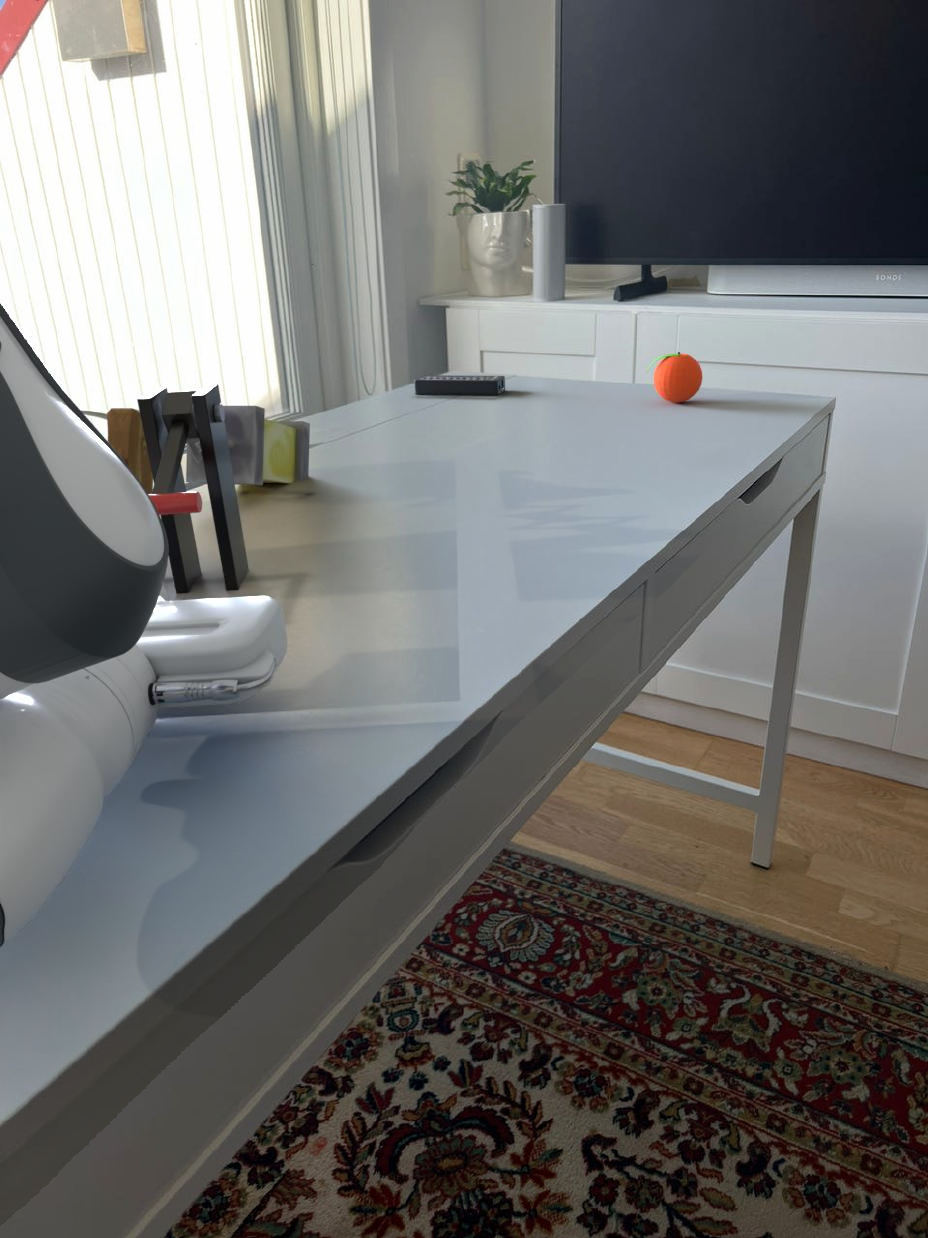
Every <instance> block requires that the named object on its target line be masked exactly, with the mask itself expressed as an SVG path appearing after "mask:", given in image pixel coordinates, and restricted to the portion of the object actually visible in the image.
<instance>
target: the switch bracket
mask: <svg viewBox="0 0 928 1238" xmlns="http://www.w3.org/2000/svg"><path fill="white" fill-rule="evenodd" d="M168 392H169V391H168V388H167V387H164V386H163V387H154V388H153V389H151V390H149V391H148V392H146V393H145V394H143V395H142V396H139V397H138V398H137V399H136V402H137V405H138V410H139V411H140V416H141V421H142V426H143V431H144V436H145V441H146V446H147V451H148V456H149V461H150V466H151V471H152V476H153V485H154V484H155V480H156V476H157V473H158V469H159V465H160V462H161V458H162V454H163V451H164V447H165V443H166V440H167V436H168V432H167V429H166V427H165V424H164V421H163V418H162V415H161V414H162V410H163V407H164V403H165V400H166V396H167V393H168ZM192 401H193V407H194V413H195V418H196V424H197V430H198V435H199V441H200V446H201V452H202V458H203V463H204V469H205V475H206V480H207V484H206V486H207V491H208V496H209V502H210V509H211V513H212V519H213V525H214V530H215V535H216V536H215V537H216V542H217V547H218V553H219V558H220V564H221V569H222V575H223V581H224V586H225V592H231V591H239V590H240V588H241V586H242V585H243V583H244V581H245V579H246V578H247V575H248V573H249V571H250V569H249V562H248V556H247V550H246V544H245V538H244V532H243V526H242V520H241V514H240V508H239V502H238V496H237V495H238V494H237V490H236V489H237V488H236V485H235V483H234V477H233V471H232V464H231V458H230V452H229V446H228V440H227V434H226V428H225V422H224V420H225V412H224V408H223V406H224V405H223V403H222V398H221V391H220V385H219V384H216V383H215V384H205V385H204V386H202V388H200V389H199V390H197V391H196V393H195V394H194V395H192ZM182 492H187V488H186V481H185V476H184V472H183V467H182V463H181V464H180V468H179V472H178V476H177V480H176V484H175V488H174V492H173V493H182ZM160 518H161V520H162V522H163V525H164V528H165V531H166V535H167V539H168V545H169V555H168V561H169V564H170V569H171V574H172V580H173V585H174V589H175V594H176V595H178V594H181V595H182V594H183V595H184V594H189V593H190V592H191V590H192V589H193V587H194V586H195V584H196V583H197V582H198V580H199V579H200V577H201V575H202V568H201V562H200V558H199V557H200V556H199V552H198V547H197V540H196V536H195V530H194V526H193V520H192V513H184V514H167V515H160Z"/></svg>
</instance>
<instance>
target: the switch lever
mask: <svg viewBox="0 0 928 1238" xmlns="http://www.w3.org/2000/svg"><path fill="white" fill-rule="evenodd" d="M167 392H168V393H167V396H166V400H165V403H164V407H163V410H162V414H161V415H162V418H163V421H164V424H165V427H166V429H167V432H168V436H167V440H166V443H165V447H164V451H163V454H162V458H161V462H160V465H159V469H158V473H157V476H156V480H155V484H154V483H153V491H152V494H148V495H149V497H150V498H151V500H152V502H153V503H154V505H155V507H156V509H157V511H158V513H159V515H160V516H161V515H167V514H184V513H190V514H198V513H201V512H202V511H203V500H202V496H201V493H200V492H199V491H186V492H182V493H173V492H174V488H175V484H176V480H177V476H178V472H179V468H180V464H181V465H182V460H183V456H184V452H185V448H186V445H187V444H186V440H187V439H194V438H199V435H198V430H197V424H196V418H195V413H194V407H193V401H192V395H194V394H195V393H196V392H197V391H196V390H183V391H182V390H180V391H167Z"/></svg>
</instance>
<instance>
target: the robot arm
mask: <svg viewBox="0 0 928 1238" xmlns="http://www.w3.org/2000/svg"><path fill="white" fill-rule="evenodd" d="M168 561H169V545H168V539H167V535H166V531H165V528H164V525H163V522H162V520H161V515H159V513H158V511H157V509H156V507H155V505H154V503H153V502H152V500H151V498H150V497H149V495H148V493H147V492H146V490H145V489H144V487H143V486H142V484H141V483H140V481H139V480H138V479H137V477H136V476H135V474H134V473H133V472H132V470H131V469H130V468H129V467H128V465H127V464H126V463H125V461H124V460H123V459H122V458H121V457H120V455H119V454H118V453H117V452H116V451H115V449H114V448H113V447H112V446H111V445H110V444H109V442H108V439H107V438H105V437H104V435H103V434H102V433H101V432H100V430H98V428H97V427H96V425H94V424H93V423H92V421H91V420H90V419H89V418H88V417H87V416H86V415H85V414H84V412H83V411H82V410H81V409H80V408H79V407H78V406H77V405H76V403H75V402H74V401H73V400H72V399H71V398H70V396H69V395H68V394H67V392H66V391H65V390H64V388H63V387H62V386H61V385H60V383H59V382H58V381H57V379H56V378H55V377H54V375H53V374H52V372H51V371H50V370H49V368H48V366H46V364H45V362H44V361H43V359H41V357H40V355H39V354H38V353H37V351H36V350H35V348H34V347H33V346H32V344H31V343H30V341H29V340H28V338H27V337H26V335H25V334H24V332H23V331H22V330H21V328H20V327H19V326H18V324H17V322H16V321H15V320H14V318H13V316H12V315H11V314H10V313H9V311H8V309H7V308H6V306H5V305H4V304H3V302H2V301H1V300H0V949H1V948H2V947H4V946H5V945H7V944H8V943H9V942H10V941H12V940H13V939H14V938H15V937H16V936H17V935H18V934H20V933H21V932H22V931H23V929H25V928H26V927H27V926H28V925H29V924H30V922H31V921H33V919H34V918H35V917H36V916H37V915H38V914H39V912H40V911H41V910H42V909H43V907H44V906H45V905H46V903H48V901H49V900H50V898H51V897H52V896H53V895H54V893H55V892H56V891H57V890H58V888H59V887H60V885H61V884H62V882H63V880H64V879H65V878H66V876H67V875H68V873H69V872H70V871H71V869H72V868H73V866H74V865H75V863H76V862H77V860H78V858H79V856H80V855H81V853H82V851H83V850H84V848H85V846H86V845H87V843H88V841H89V840H90V838H91V836H92V835H93V832H94V831H95V829H96V827H97V826H98V823H99V820H100V818H101V815H102V811H103V807H104V802H105V799H106V798H107V797H108V796H110V794H111V793H112V792H114V791H115V789H116V788H117V787H118V785H120V783H121V782H122V781H123V779H124V777H125V776H126V774H127V772H128V771H129V768H130V767H131V765H132V763H133V762H134V760H135V758H136V756H137V754H138V753H139V751H140V749H141V747H142V746H143V744H144V743H145V741H146V739H147V737H148V735H149V733H150V732H151V730H152V728H153V726H154V724H155V722H156V720H157V717H158V713H159V710H160V709H169V708H170V709H172V708H187V707H189V708H190V707H206V706H223V705H224V706H225V705H231V704H236V703H240V702H244V701H246V700H249V699H251V698H252V697H254V696H256V695H257V694H259V693H260V692H261V691H262V690H263V689H264V688H266V687H267V686H268V685H270V683H271V682H272V679H273V678H274V675H275V673H276V672H277V671H278V669H279V667H280V665H281V664H282V663H283V660H284V658H285V657H286V654H287V651H288V634H287V625H286V619H285V613H284V610H283V606H282V603H281V602H279V601H278V600H277V599H275V598H273V597H272V596H269V595H250V596H249V595H248V596H247V595H245V596H231V597H230V596H229V597H212V598H211V597H210V598H196V599H195V598H193V599H175V600H173V599H172V600H169V598H168V597H169V596H168V592H167V588H166V587H165V586H164V582H165V581H164V580H165V577H166V573H167V568H168Z"/></svg>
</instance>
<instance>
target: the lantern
mask: <svg viewBox="0 0 928 1238" xmlns="http://www.w3.org/2000/svg"><path fill="white" fill-rule="evenodd" d="M223 408H224V412H225V420H224V422H225V428H226V434H227V440H228V446H229V452H230V458H231V464H232V471H233V477H234V483H235V486H236V485H240V486H244V485H245V486H263V485H264V484H292V483H294V482H302V481H304V480H305V479H306V478H308V477H309V472H310V471H309V470H310V469H309V467H310V439H311V438H310V436H311V434H310V433H311V423H310V422H307V421H303V420H270V419H266V418H265V415H266V414H265V413H266V408H264V407H261V406H258V405H223ZM106 421H107V422H106V423H107V425H106V426H107V441H108V442H109V444H110V445H111V446H112V447H113V448H114V449H115V451H116V452H117V453H118V454H119V455H120V457H121V458H122V459H123V460H124V461H125V463H126V464H127V465H128V467H129V468H130V469H131V470H132V472H133V473H134V474H135V476H136V477H137V479H138V480H139V481H140V483H141V484H142V486H143V487H144V489H145V490H146V492H147V493H148V494H152V491H153V487H154V481H153V476H152V471H151V466H150V461H149V456H148V451H147V446H146V441H145V436H144V431H143V426H142V421H141V416H140V411H139V409H136V408H133V407H115V408H114V407H112V408H110V409H109V411H108V412H107V413H106ZM185 445H186V466H185V469H186V471H185V473H186V474H185V483H188V484H189V483H190V484H198V485H199V484H200V485H207V480H206V475H205V469H204V463H203V458H202V452H201V446H200V441H199V438H194V439H187V440H186V444H185Z"/></svg>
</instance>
